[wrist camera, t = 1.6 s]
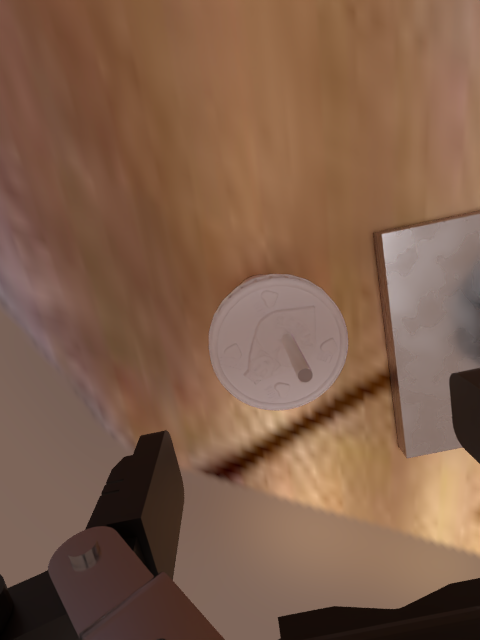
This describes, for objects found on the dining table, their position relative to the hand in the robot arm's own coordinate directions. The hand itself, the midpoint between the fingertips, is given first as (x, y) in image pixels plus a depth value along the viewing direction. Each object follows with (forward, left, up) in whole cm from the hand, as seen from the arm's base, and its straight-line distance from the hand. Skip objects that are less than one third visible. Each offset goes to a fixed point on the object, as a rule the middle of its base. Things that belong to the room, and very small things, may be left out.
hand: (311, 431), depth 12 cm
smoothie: (0, 0, -17) cm, 17 cm away
